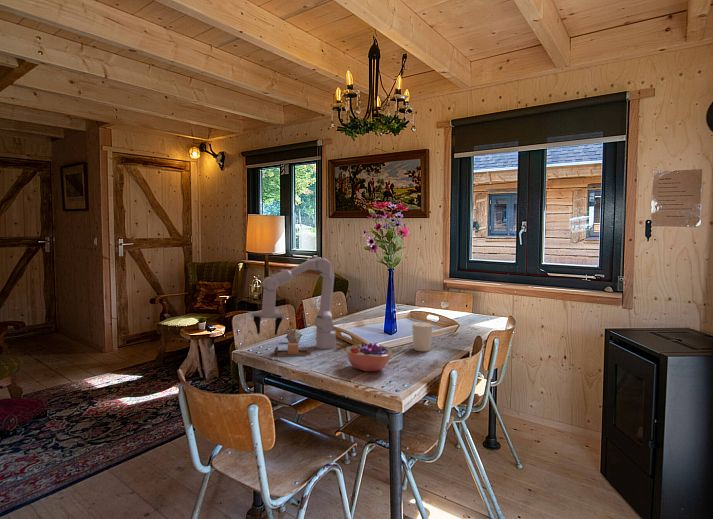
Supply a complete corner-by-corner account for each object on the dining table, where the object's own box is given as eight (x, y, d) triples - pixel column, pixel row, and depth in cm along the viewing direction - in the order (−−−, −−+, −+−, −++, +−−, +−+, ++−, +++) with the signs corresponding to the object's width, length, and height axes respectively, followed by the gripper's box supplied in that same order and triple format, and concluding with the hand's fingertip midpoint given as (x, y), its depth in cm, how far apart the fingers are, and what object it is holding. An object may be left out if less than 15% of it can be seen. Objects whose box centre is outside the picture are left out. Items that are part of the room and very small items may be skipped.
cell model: (359, 360, 190) (359, 334, 189) (399, 368, 178) (400, 341, 178) (336, 370, 176) (336, 343, 175) (378, 380, 164) (378, 351, 164)
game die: (296, 351, 215) (298, 339, 209) (281, 345, 216) (282, 332, 210) (304, 339, 222) (306, 327, 215) (289, 333, 223) (291, 320, 217)
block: (298, 352, 197) (298, 342, 197) (297, 355, 193) (297, 345, 192) (288, 352, 197) (288, 342, 197) (287, 355, 192) (287, 345, 192)
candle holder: (407, 349, 207) (407, 324, 206) (419, 345, 214) (419, 321, 213) (424, 353, 200) (425, 327, 200) (436, 348, 208) (436, 324, 207)
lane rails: (306, 353, 199) (306, 349, 199) (306, 358, 191) (306, 354, 191) (276, 354, 198) (276, 350, 198) (274, 359, 190) (274, 355, 190)
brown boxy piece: (311, 353, 198) (311, 346, 198) (310, 357, 193) (310, 349, 192) (275, 354, 197) (275, 346, 197) (274, 358, 191) (274, 350, 191)
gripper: (250, 304, 189) (248, 334, 190) (283, 306, 189) (281, 336, 190) (254, 302, 196) (252, 331, 197) (286, 304, 196) (284, 333, 197)
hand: (267, 334), depth 194 cm, fingers open, 7 cm apart
